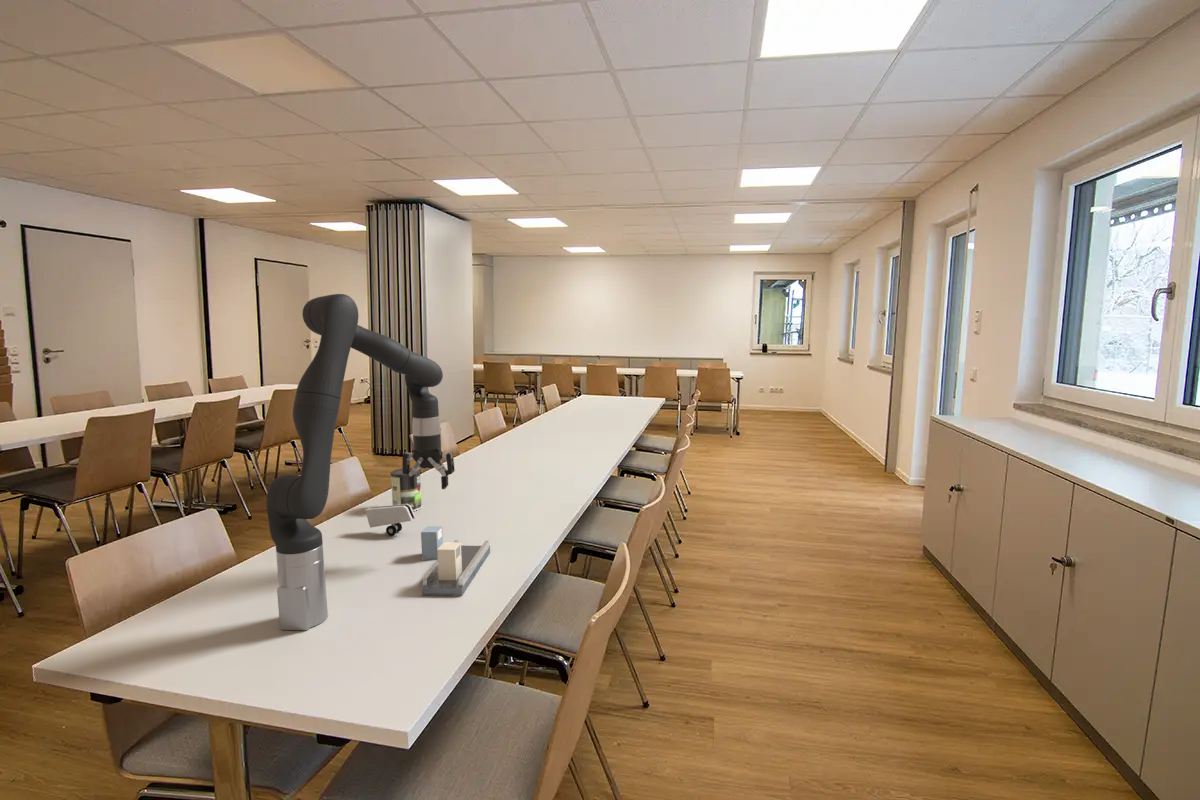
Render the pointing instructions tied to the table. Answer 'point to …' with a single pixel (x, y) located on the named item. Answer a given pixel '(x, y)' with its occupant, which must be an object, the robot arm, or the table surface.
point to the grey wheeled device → (390, 516)
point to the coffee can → (405, 490)
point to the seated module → (449, 561)
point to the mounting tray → (470, 567)
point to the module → (431, 541)
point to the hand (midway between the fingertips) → (429, 488)
